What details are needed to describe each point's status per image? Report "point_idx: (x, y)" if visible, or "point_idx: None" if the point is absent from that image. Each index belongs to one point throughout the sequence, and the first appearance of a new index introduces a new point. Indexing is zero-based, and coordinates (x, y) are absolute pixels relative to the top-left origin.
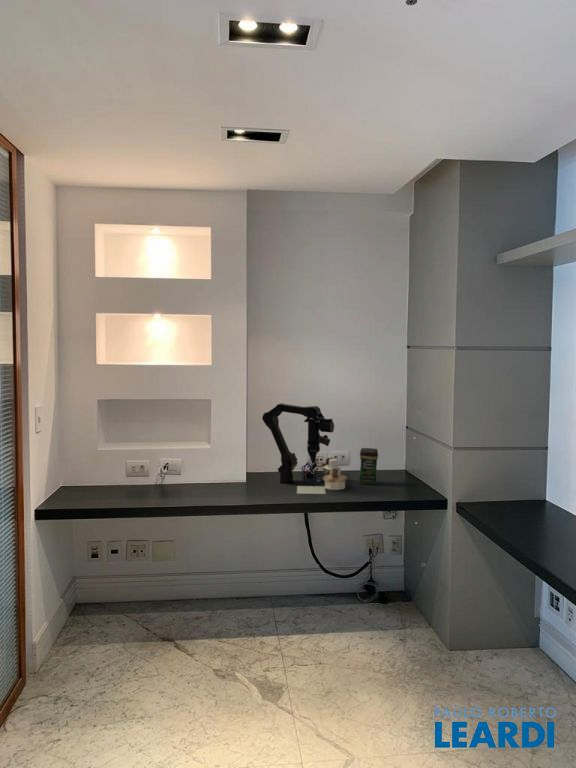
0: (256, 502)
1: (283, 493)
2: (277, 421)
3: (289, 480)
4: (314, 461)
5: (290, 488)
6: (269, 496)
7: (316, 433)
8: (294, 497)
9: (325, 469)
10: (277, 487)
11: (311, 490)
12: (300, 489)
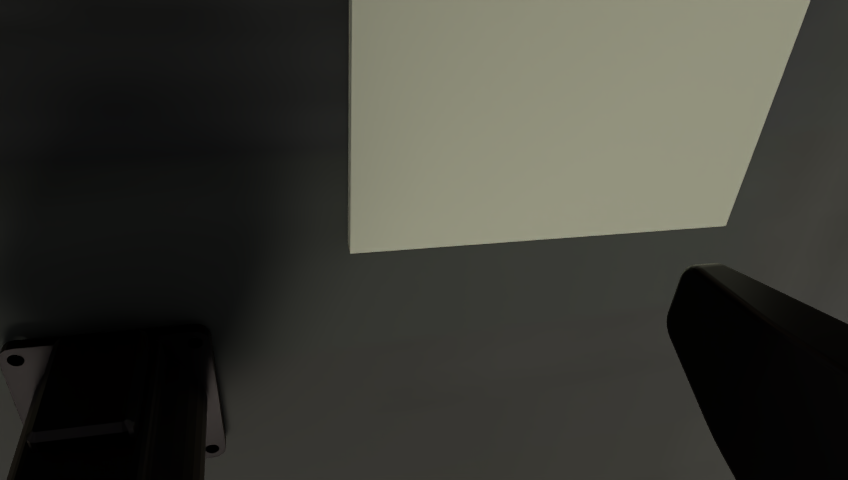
0: None
1: (630, 348)
2: None
3: (178, 396)
4: (790, 309)
5: (414, 313)
6: (703, 431)
7: None
8: (817, 229)
9: None
10: (366, 437)
11: (629, 36)
12: (547, 198)
